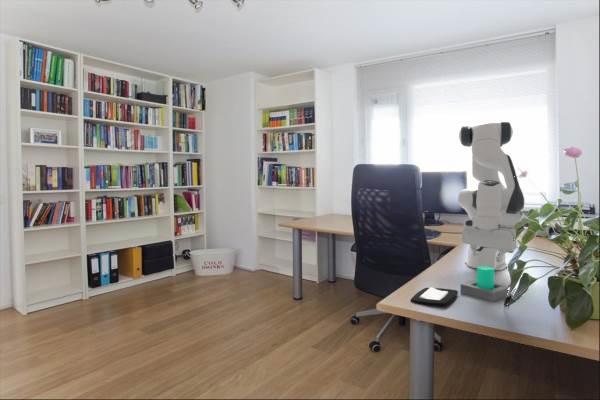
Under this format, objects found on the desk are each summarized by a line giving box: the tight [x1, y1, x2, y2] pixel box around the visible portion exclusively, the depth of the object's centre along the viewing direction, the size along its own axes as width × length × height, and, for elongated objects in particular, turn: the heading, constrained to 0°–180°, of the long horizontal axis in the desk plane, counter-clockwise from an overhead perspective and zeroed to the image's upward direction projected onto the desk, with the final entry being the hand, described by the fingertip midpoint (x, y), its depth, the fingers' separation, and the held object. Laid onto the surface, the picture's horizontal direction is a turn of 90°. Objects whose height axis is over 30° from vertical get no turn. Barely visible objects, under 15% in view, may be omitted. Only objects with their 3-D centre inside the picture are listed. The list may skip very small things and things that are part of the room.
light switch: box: [409, 286, 459, 307], centre depth 143 cm, size 20×3×14 cm
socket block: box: [459, 279, 509, 303], centre depth 147 cm, size 13×13×4 cm
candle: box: [476, 266, 496, 290], centre depth 146 cm, size 6×6×12 cm
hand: (487, 258), depth 146 cm, fingers open, 8 cm apart
